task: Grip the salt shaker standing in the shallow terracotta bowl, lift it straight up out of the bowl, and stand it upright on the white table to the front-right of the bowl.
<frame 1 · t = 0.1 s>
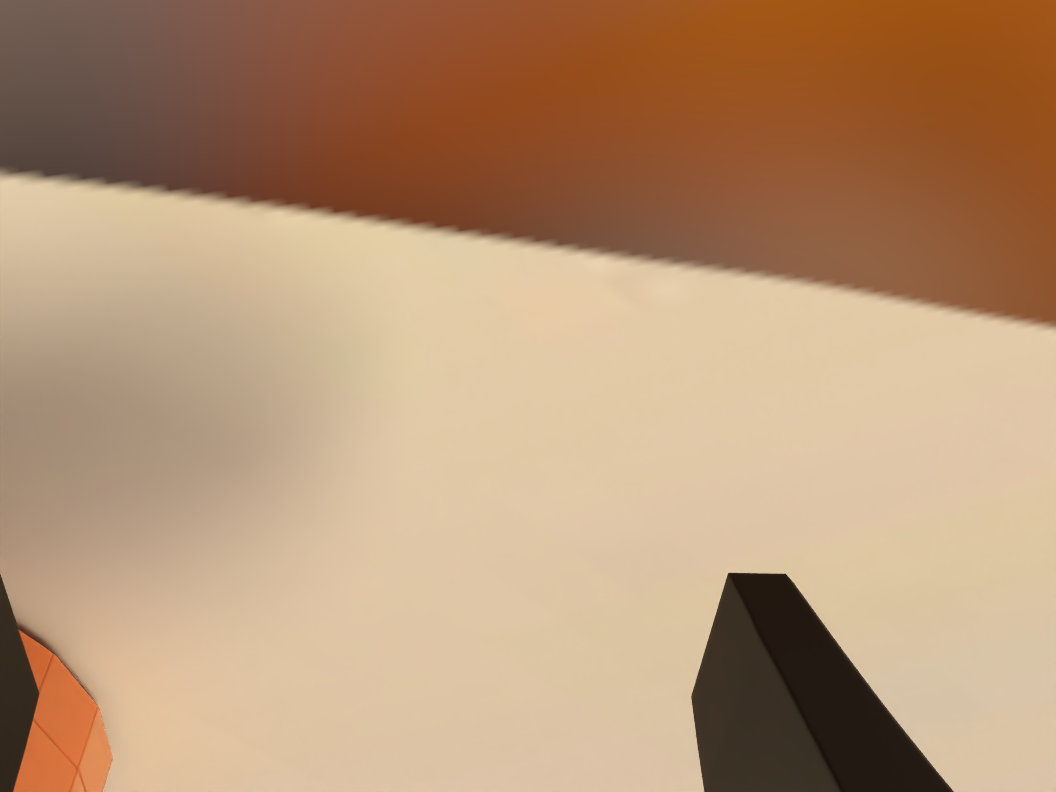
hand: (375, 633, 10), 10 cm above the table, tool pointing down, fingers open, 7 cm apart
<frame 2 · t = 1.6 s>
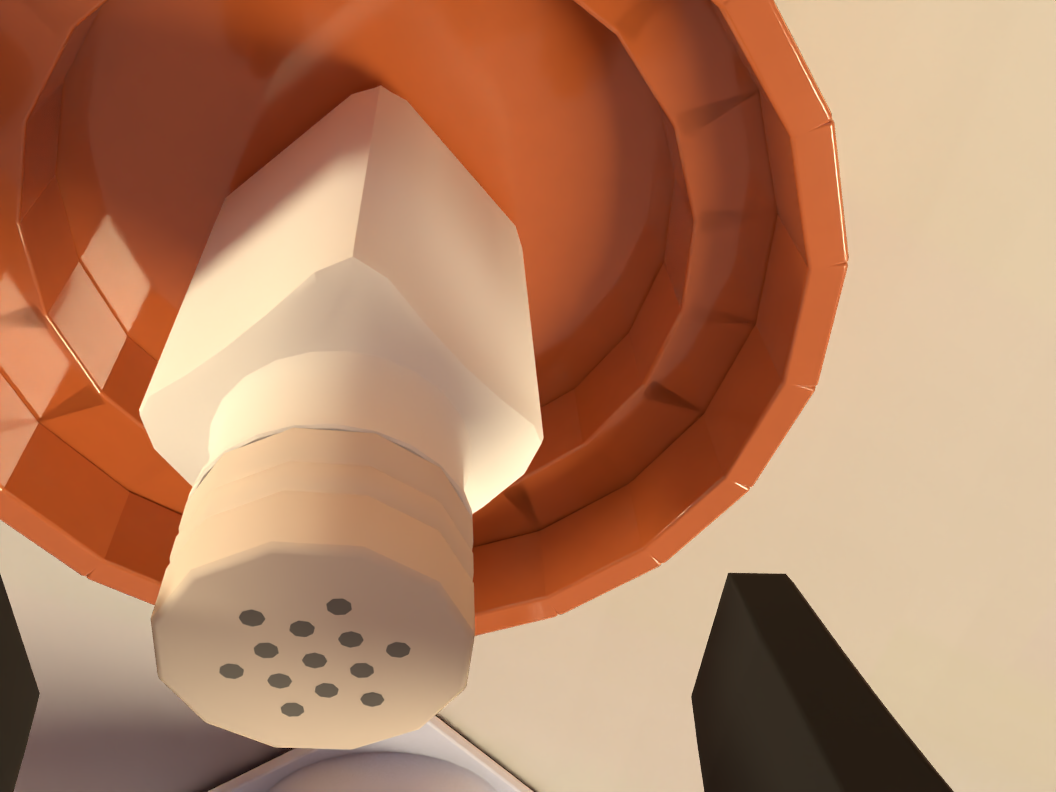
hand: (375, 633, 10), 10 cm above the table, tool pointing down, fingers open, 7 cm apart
bowl: (375, 207, 18), on the table
salt shaker: (375, 213, 18), resting on bowl
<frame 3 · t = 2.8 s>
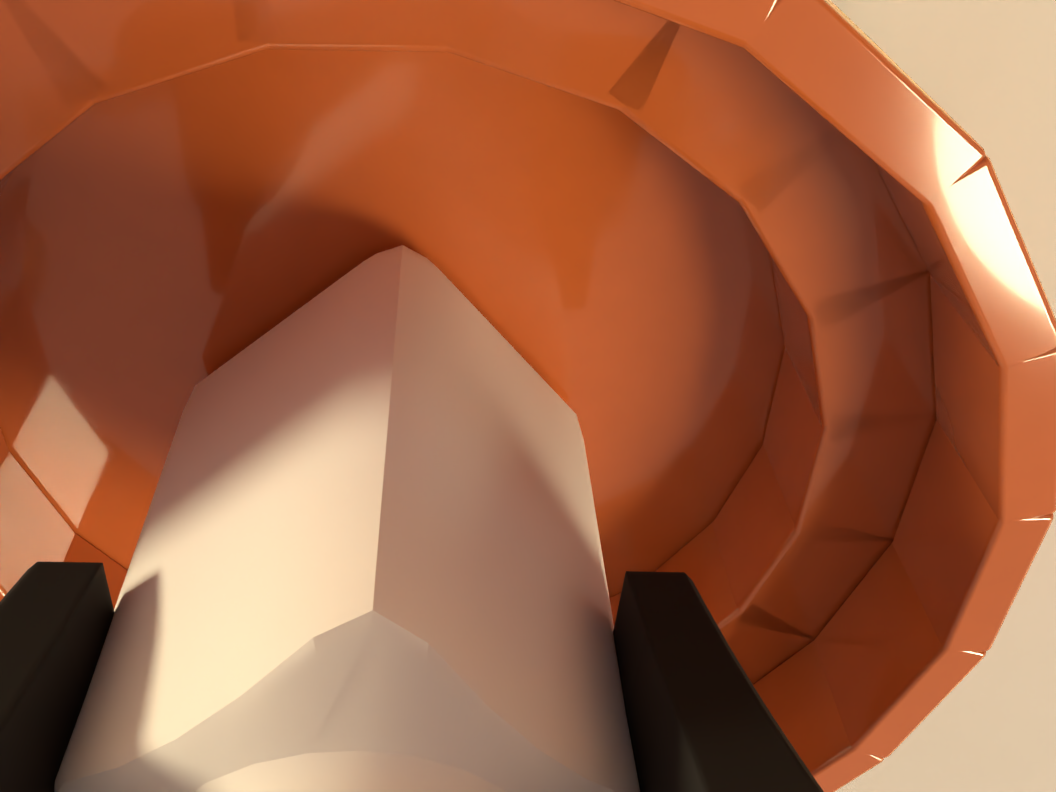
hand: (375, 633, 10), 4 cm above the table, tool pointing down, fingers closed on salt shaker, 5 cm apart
bowl: (394, 379, 14), on the table
salt shaker: (391, 389, 14), resting on bowl, touching gripper
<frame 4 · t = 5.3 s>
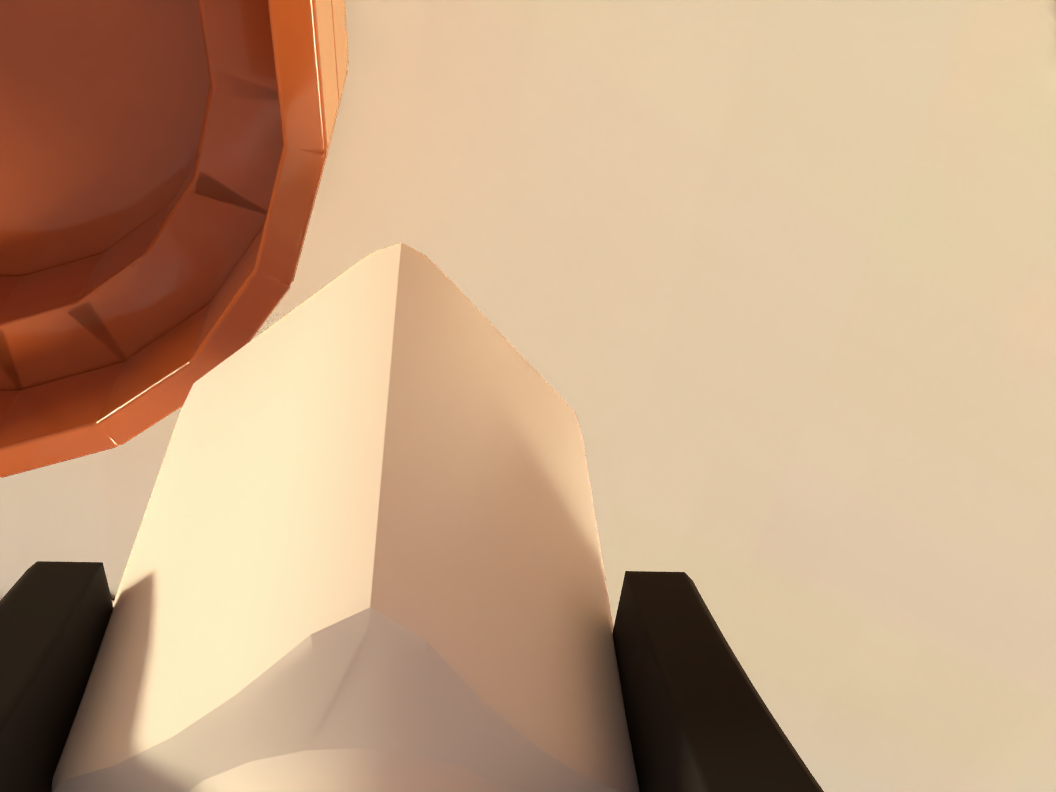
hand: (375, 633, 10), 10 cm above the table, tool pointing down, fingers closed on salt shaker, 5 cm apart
salt shaker: (390, 387, 14), point 6 cm above the table, touching gripper
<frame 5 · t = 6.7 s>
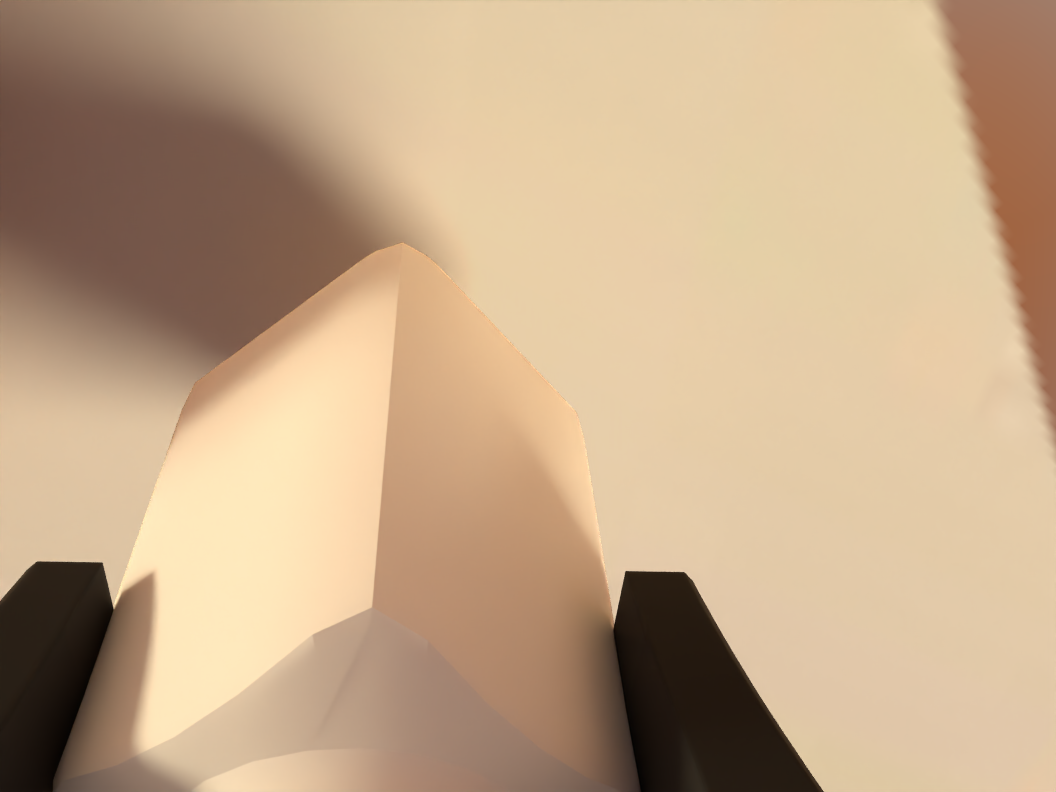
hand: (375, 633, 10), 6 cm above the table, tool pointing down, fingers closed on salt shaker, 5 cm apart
salt shaker: (391, 387, 14), point 2 cm above the table, touching gripper
when the fingers open (4 cm above the table, at t = 7.9 s): salt shaker stays where it is, on the table.
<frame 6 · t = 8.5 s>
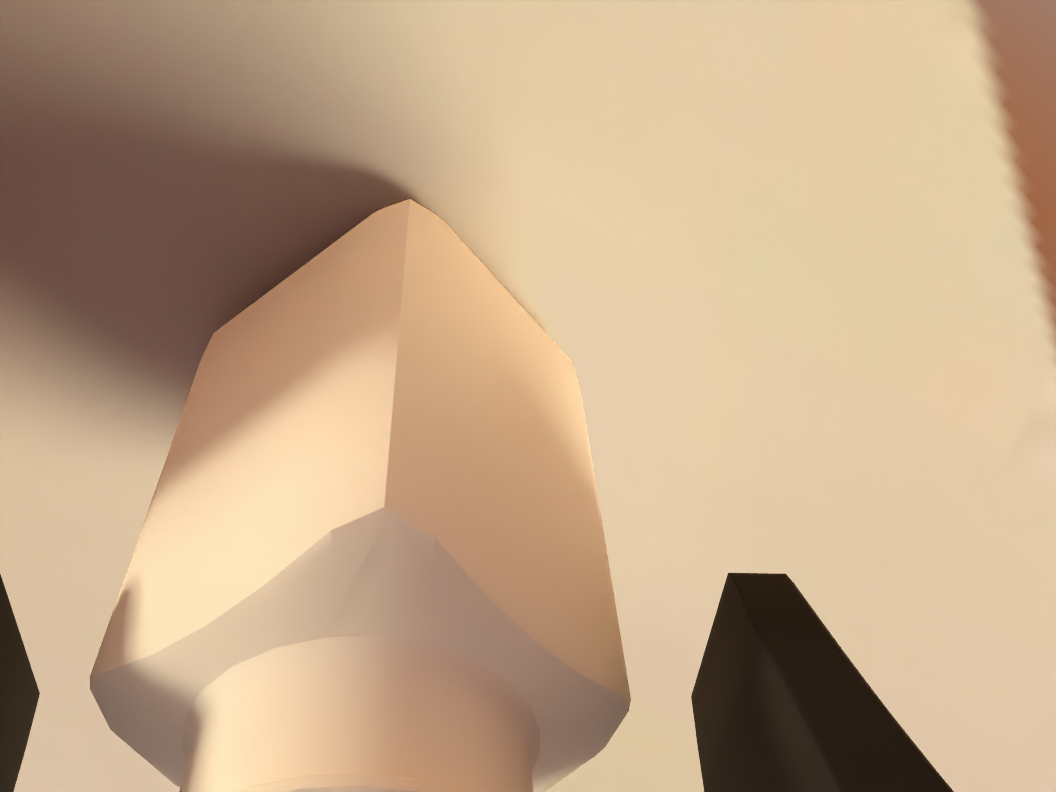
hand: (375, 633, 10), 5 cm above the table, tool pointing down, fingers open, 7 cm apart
salt shaker: (398, 341, 14), on the table
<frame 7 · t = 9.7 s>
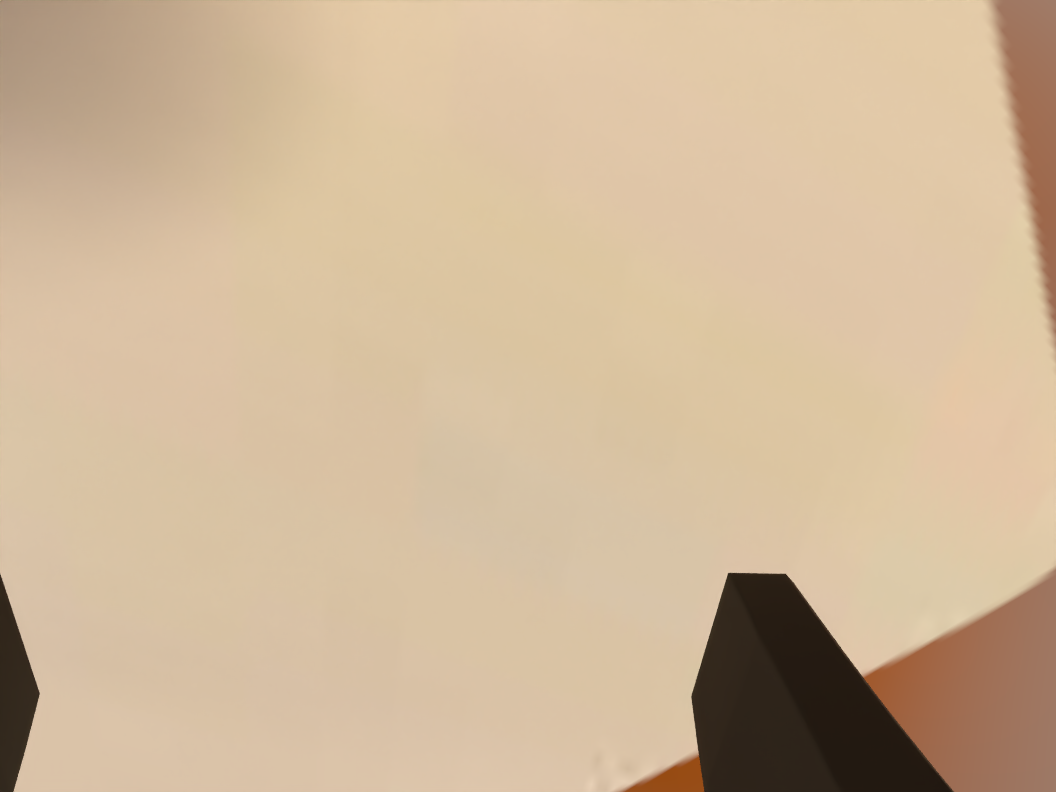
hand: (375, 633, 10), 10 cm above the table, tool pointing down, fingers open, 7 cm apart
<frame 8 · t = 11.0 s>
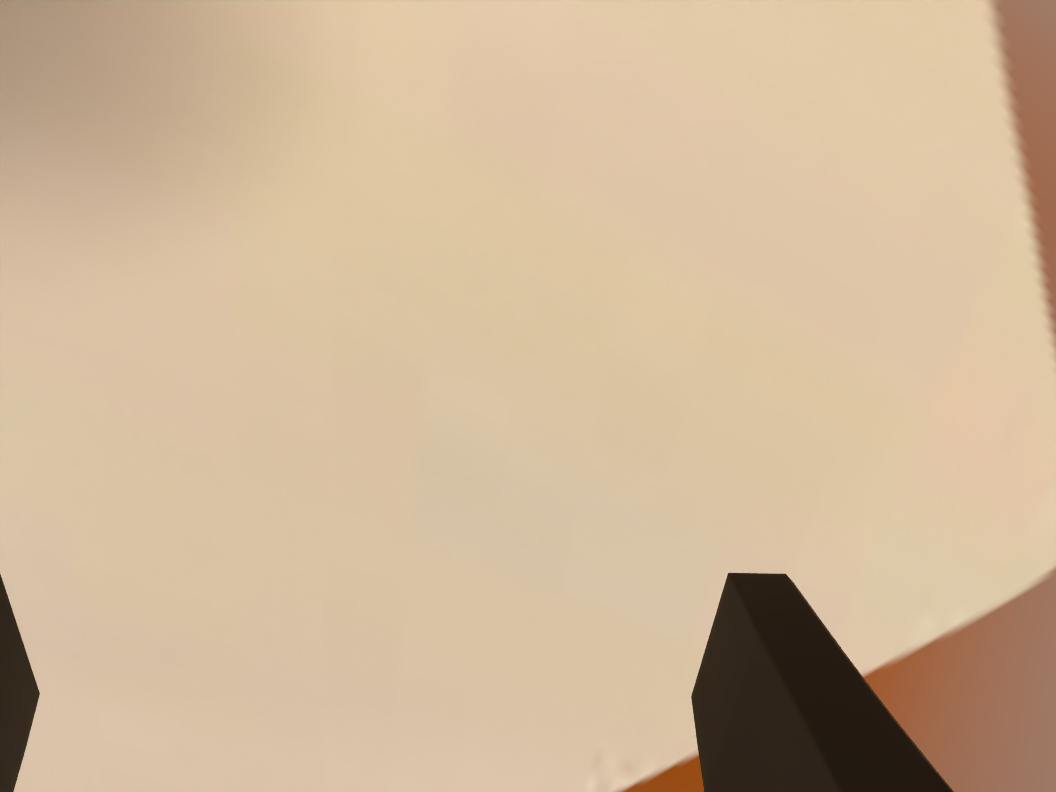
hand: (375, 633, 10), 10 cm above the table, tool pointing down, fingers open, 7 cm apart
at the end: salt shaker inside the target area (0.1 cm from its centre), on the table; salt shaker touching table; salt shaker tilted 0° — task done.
